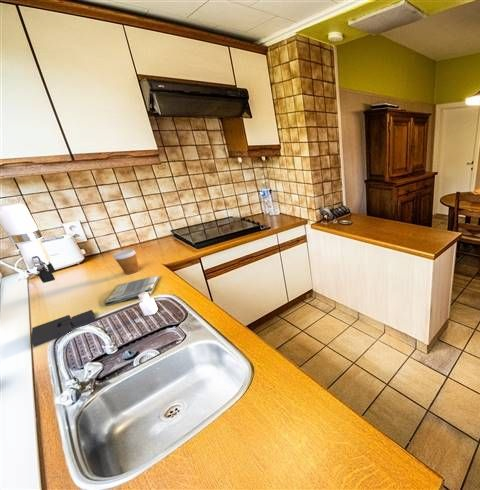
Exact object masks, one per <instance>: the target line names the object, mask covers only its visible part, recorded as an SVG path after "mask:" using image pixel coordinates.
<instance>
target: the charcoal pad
mask: <svg viewBox="0 0 480 490" xmlns="http://www.w3.org/2000/svg"><path fill="white" fill-rule="evenodd" d="M69 319H72V316H71V315H70V314H67V315H65V316H62V317H59V318H56V319H53V320H49V321H47V322H44V323H42V324H39V325H36V326H33V327H32V328H31V337H30V344H31V345H32V346H33V348H35V347H39V346H41V345H43V344H46V343H48V342H51V341H54V340H57V339H58V338H61V337H64V336H66V334H67V333H69V332H71V331H72V330H73V331H74V327H72V325H71V324H70V323H68V324H66V325H63V326H61V322H63V321H66V320H69ZM69 334H70V333H69ZM67 335H68V334H67Z"/></svg>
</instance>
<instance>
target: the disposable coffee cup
mask: <svg viewBox="0 0 480 490" xmlns="http://www.w3.org/2000/svg"><path fill="white" fill-rule="evenodd" d="M136 254H137V253H136V250H135V249H132V248H126V249H122V250H119V251H117V252H116V251H115V252H114V254H113V256H112V258H113V259H114V260H115V261H116V262H117V264H118V266H119V267H120V268H121V269H122V271H123V272H124V274H125V275H132V274H137V272H140V265H139V262H138V258H137V255H136Z"/></svg>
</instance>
